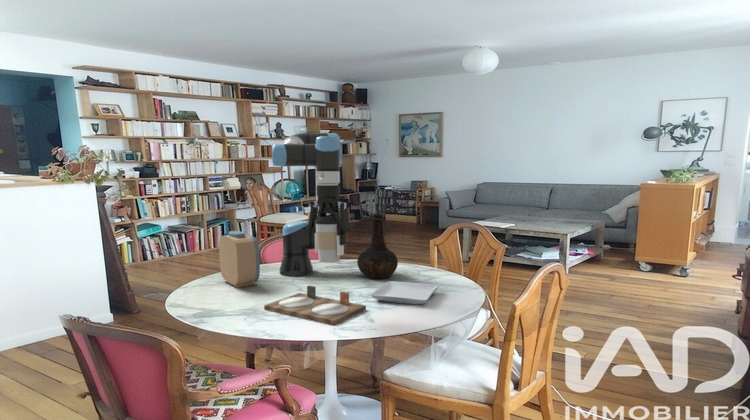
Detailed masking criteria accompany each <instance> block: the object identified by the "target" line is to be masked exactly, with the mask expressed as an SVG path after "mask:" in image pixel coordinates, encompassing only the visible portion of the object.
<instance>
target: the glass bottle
mask: <svg viewBox="0 0 750 420" xmlns="http://www.w3.org/2000/svg"><path fill="white" fill-rule="evenodd" d="M371 216H372V217H371V218H370V220H372V225H371V226H372V227H371V238H370V239H371V241H370V247H368V248H366V249H365V250H363V251H362V252H361V253H359V255H358V257H357V267H358V269H359V271H360V272H361V273H362V275H363V276H364V277H367V278H368V279H373V280H377V279H379V280H382V279H386V278H388V277H391V276H392V275H393V274H394V273H395V272H396V271H397V268H398V266H399V265H398V264H399V263H398V262H399V261H398V257H397V255H396V254H395V252H394V251H392V250H391V249H389V248H388V247H387V245H386V241H385V234H384V226H383V225H384V224H383V221H384V220H385V218H384V217H383V214H382V213H372V214H371Z"/></svg>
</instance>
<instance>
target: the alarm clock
mask: <svg viewBox="0 0 750 420" xmlns="http://www.w3.org/2000/svg"><path fill="white" fill-rule="evenodd" d="M218 244H219V245H218V250H219V251H218V253H219V269H220V274H221V277H222V278H223V280H225V281H226V283H228V284H229V285H231V286H233V287H235V288H242V287H247V286H253V285H255V282H258V280H259V279H260V275H261V274H260V273H261V270H260V269H261V268H260V267H261V265H260V264H261V263H260V247H259V242H258V240H257V238H256V237H254V236H253V235H250V234H247V233H245V232H244V231H239V230H232V231H231V230H230V231H228V234H227V235H226V234H225V235H220V237H219V243H218Z"/></svg>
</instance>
